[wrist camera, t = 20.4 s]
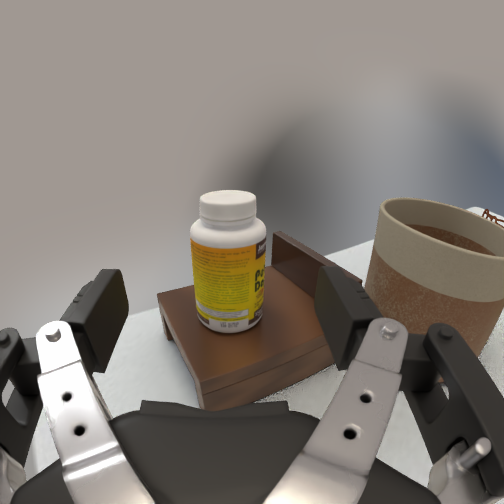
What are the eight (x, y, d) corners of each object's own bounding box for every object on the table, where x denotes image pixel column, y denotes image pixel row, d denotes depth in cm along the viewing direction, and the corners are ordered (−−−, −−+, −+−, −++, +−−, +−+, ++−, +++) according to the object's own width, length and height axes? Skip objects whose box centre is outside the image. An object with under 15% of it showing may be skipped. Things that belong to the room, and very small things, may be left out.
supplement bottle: (264, 337, 22) (270, 207, 17) (192, 335, 22) (179, 207, 17) (261, 297, 27) (265, 187, 22) (202, 296, 27) (195, 187, 22)
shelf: (206, 420, 20) (192, 339, 16) (164, 332, 29) (150, 256, 25) (342, 359, 26) (363, 280, 22) (275, 299, 35) (280, 230, 31)
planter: (431, 293, 36) (455, 201, 30) (495, 364, 21) (546, 255, 16) (335, 304, 34) (353, 193, 28) (390, 406, 20) (454, 263, 14)
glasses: (480, 221, 72) (483, 206, 70) (509, 229, 67) (512, 215, 65) (491, 233, 61) (495, 217, 59) (522, 243, 56) (526, 227, 54)
